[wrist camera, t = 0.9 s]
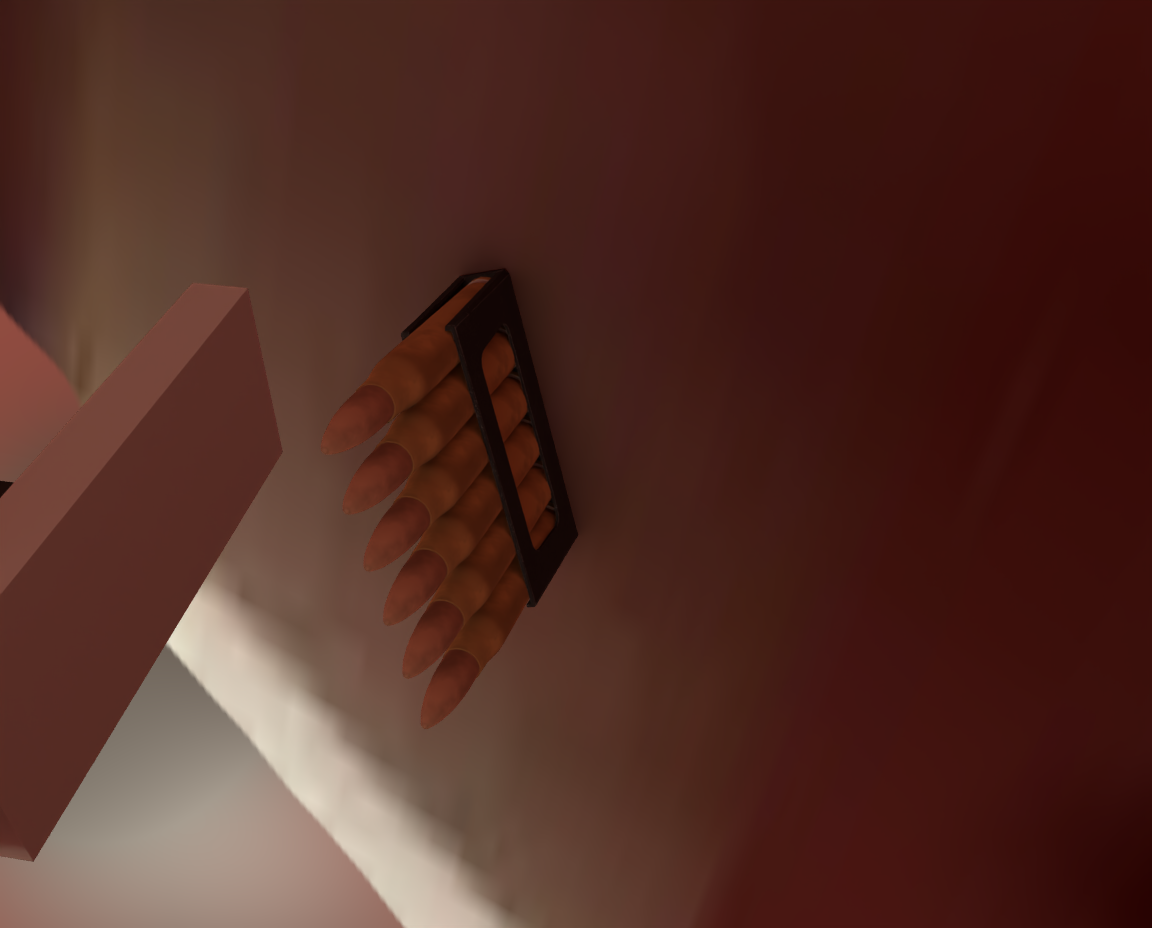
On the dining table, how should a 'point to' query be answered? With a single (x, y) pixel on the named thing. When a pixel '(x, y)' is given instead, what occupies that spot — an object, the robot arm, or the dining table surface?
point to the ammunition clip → (459, 481)
